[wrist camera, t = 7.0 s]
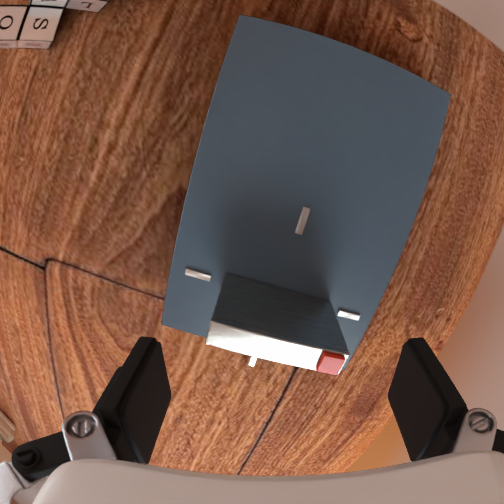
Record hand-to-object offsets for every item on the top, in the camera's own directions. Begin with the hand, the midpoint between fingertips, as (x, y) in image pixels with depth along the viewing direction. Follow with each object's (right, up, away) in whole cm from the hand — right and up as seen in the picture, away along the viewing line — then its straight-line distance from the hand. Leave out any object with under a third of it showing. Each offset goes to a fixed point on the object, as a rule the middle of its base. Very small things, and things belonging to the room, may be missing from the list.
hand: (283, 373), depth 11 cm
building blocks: (-14, +21, +3) cm, 26 cm away
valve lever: (0, +2, +6) cm, 6 cm away
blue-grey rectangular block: (+2, +8, +7) cm, 11 cm away
